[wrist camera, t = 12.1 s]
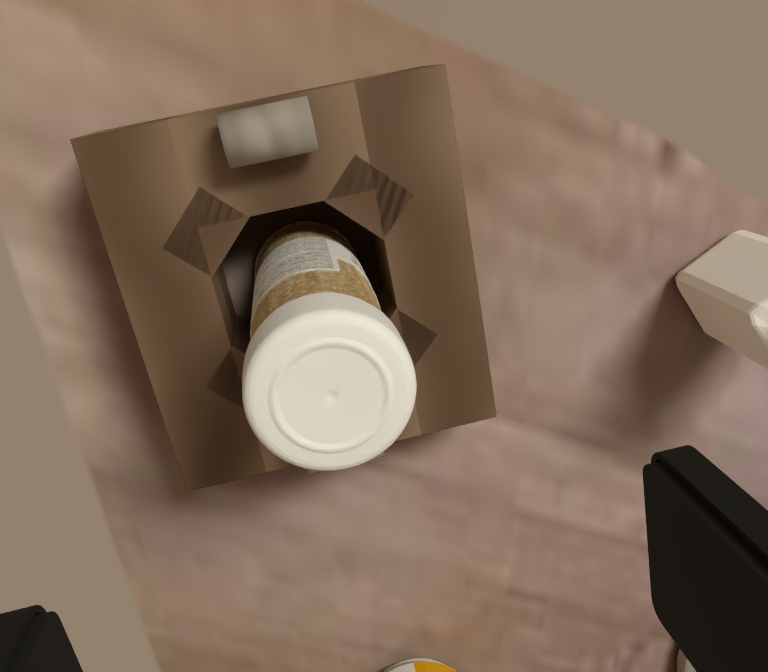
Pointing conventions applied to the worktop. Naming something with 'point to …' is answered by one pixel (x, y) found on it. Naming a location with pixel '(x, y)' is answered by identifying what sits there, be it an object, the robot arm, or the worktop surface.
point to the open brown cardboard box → (277, 192)
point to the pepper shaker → (731, 293)
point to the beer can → (419, 666)
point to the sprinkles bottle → (322, 354)
